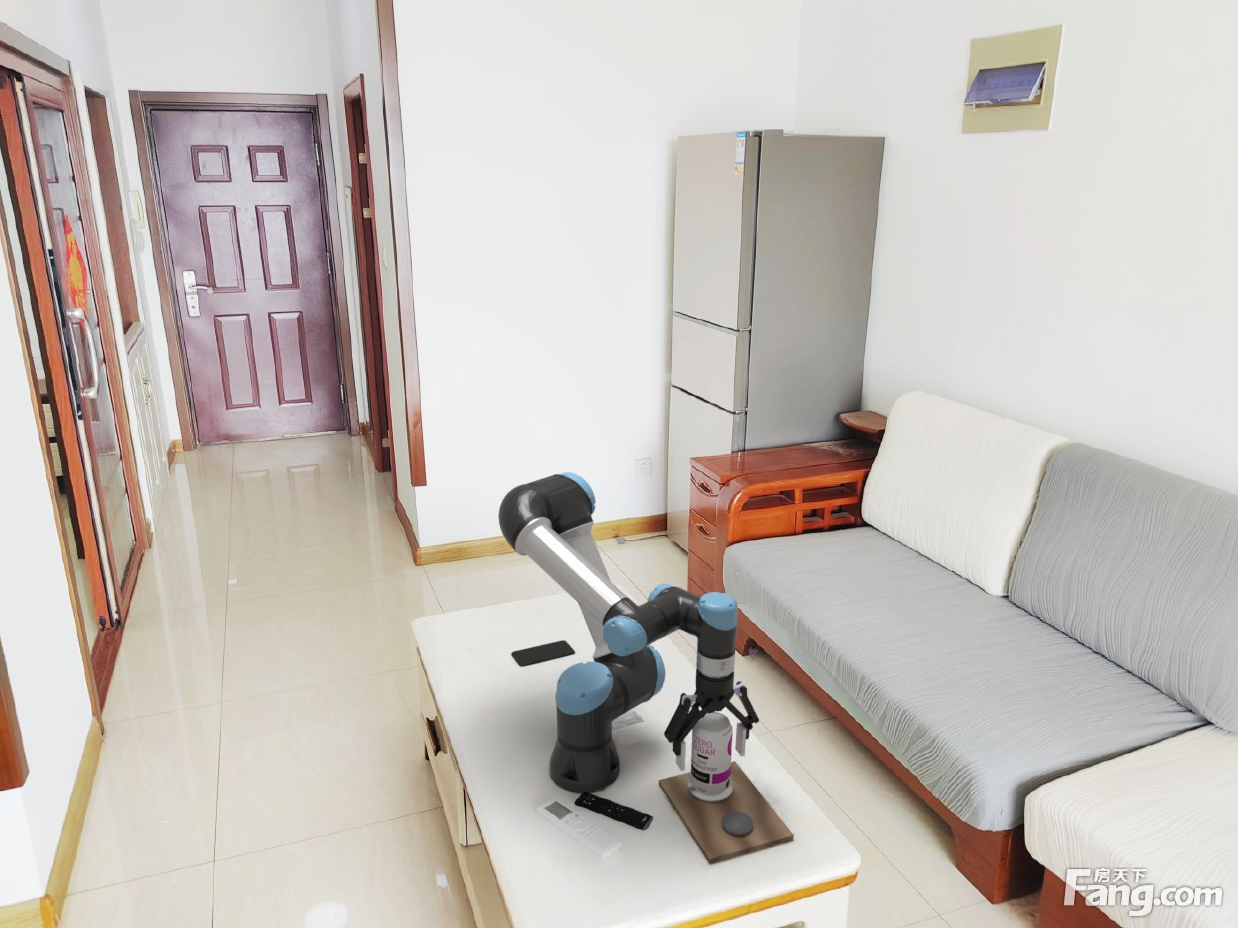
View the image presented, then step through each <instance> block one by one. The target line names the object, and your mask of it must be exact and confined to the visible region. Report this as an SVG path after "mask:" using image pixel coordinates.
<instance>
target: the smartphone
mask: <svg viewBox="0 0 1238 928" xmlns="http://www.w3.org/2000/svg"><path fill="white" fill-rule="evenodd" d="M575 654H576V650H575V649H574V648H573V647H572V646H571V645H570V644H569V642H567V640H561V639H560V640H557V641H553V642H549V643H545V644H540V645H535V646H532V647H527V648H522V649H518V650H514V651H512V652H511V657H512V658H513V659H514V661H515V662H516V664H517V665H518V666H519V667H521V668H522V667H529V666H533V665H537V664H541V663H544V662H545V663H546V662H549V661H552V660H557V659H561V658H565V657H569V656H574V655H575Z"/></svg>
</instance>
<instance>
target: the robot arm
mask: <svg viewBox="0 0 1238 928" xmlns="http://www.w3.org/2000/svg"><path fill="white" fill-rule="evenodd" d="M595 504H596V496H595V493H594V491H593V488H592V487H591V485H590V484H589V482H588V481H586V480H585V478H584V477H582V476H580V475H577V473H575V472H570V471H569V472H562V473H554V474H552V475H550V476H547V477H543V478H539V479H535V480H533V481H531V482H527V483H522V484H520V485H519V484H518V485H517V486H515V487H514V488H512V489H510V490H509V491H508V492H507V493H506V494H505V496H504V497H503V499H502V500H501V503H500V506H499V509H498V525H499V528H500V531H501V534H502V536H503V538H504V540H505V541H506V542H507V543H508V545H509V546H510V547H511V548H512V549H513V550H514V551H515V552H516V553H518V555H520V556H522V557H525V556H526V557H527V556H528V557H529V558H530V559H531V560H532V562H534V563H535V564H536V565H537V566H539V568H540V569H542V570H543V572H545V573H546V574H547V576H549V577H550V578H551V579H552V580H553V581H554V582H555V583H556V584H557V585H558V586H560V587H561V588H562V589H563V590H564V591H565V592H566V593H567V594H569V596H570V597H572V599H574V601H575V602H577V604H578V606H579V608H580V610H581V614H582V615H583V618H584V622H585V624H586V626H587V628H588V629H587V630H588V631H589V633H590V636H591V639H592V640H593V643H594V645H595V649H594V652H593V654H592V659H593V661H586V662H585V663H584V662H578V663H575V664H572V665H571V666H569V667H567V668H566V669H565V670H564V671H562V673H561V674H560V675H559V677H558V680H557V682H556V693H555V704H556V725H557V726H556V741H555V744H554V747H553V750H552V752H551V756H550V760H549V774H550V778H551V779H552V781H553V782H554V783H555V784H556V785H557V786H559V787H561V788H562V789H564V790H566V791H570V792H575V793H584V792H586V793H593V792H597V791H601V790H603V789H606V788H608V787H610V786H611V785H612V784H614V782H616V781H617V779H618V777H619V776H620V773H621V759H620V756H619V753H618V750H617V747H616V744H615V742H614V740H613V732H612V731H613V722H614V721H615V720H616V719H617V718H620V717H621V716H623V715H625V714H626V713H628V712H629V711H631V710H633V709H635V708H636V707H639V706H640V705H641V704H644V703H648V701H650V700H651V699H652V698H653V697H654V696H656V695H657V694H658V693H660V692H661V690H662V689H663V687H664V683H665V680H666V668H665V667H666V666H665V663H664V659H663V657H662V655H661V653H660V651H658V650H657V649H655V648H654V647H655V646H653V645H651V644H652V643H654V642H657V641H658V640H661V639H663V638H665V637H667V636H669V635H671V634H673V633H675V632H676V631H678V630H680V631H682V632H685V633H687V634H688V635H691V636H694V637H696V639H697V640H696V641H697V642H696V645H697V647H696V648H697V649H696V663H695V666H696V670H695V691H694V693H693V694H686V693H685V692H683V693H681V694H680V697H679V703H678V705H677V706H676V709H675V711H674V712H673V715H672V717H671V719H670V720H669V722H668V725H667V726H666V727H665V730H664V732H663V735H664V737H665V738H666V739H667V741H668V743H669V744H670V743H671V744H672V752H673V754H674V755H675V764H676V765H677V767H678V769H679V770H680V771H681V772H684V771H685V770H686V751H687V749H686V748H687V746H686V745H687V742H686V741H685V739H686V738H687V736H688V735H689V734H690V732H692V729H693V727H694V726H695V725H696V723H697V722H698V721H699V720H700V718H703V717H704V716H705V715H706V714H707V713H708V714H709V713H713V712H723V709H725V708H726V709H727V710H728V711H729V712H730V713H731V714H732V715H733V716H734V717H736V719H737V720H738V721H737V722H736V730H735V731H736V732H735V733H736V734H735V746H734V747H735V748H734V749H735V750H736V752H737V753H738V754H739V755H740V757H745V754H746V744H747V743H746V740H749V738H750V731H751V730H752V729H753V728H754V725H753V724H758V723H759V722H760V718H759V717H758V714H757V713H756V710H755V709H754V706H753V703H752V702H751V701H750V699H749V697H748V688H747V687H746V686H745V684H744V683H742V681H737V682H736V684H735V685H734V681H735V680H734V679H735V663H736V662H735V660H736V647H737V646H736V641H737V630H738V629H737V628H738V624H739V617H738V616H739V615H738V603H737V601H736V599H735V598H734V597H733V596H732V595H731V594H728V593H726V592H725V593H724V592H718V591H710V592H706V593H704V594H703V595H701V596H699V595H696V594H695V593H692V592H690V591H687V590H685V589H683V588H682V587H680V586H676V585H672V584H670V583H661V584H658V585H656V586H655V587H654V590H652V591H651V592H650V593H649V595H648V598H647V602H645V603H643V604H640V605H637V603H635V602H634V601H633V600H632V599H631V598H629V597H628V596H627V595H626V594H625V593H624V592H623V591H621V590H620V589H619V587H617V586H616V585H615V584H614V583H613V582H612V581H611V578H610V576H609V574H608V571H607V568H606V566H605V564H604V561H603V559H602V556H601V554H600V552H599V549H598V547H597V545H596V542H595V539H594V536H593V534H592V528H593V526H594V524H595V522H594V520H593V516H592V515H593V514H594V512H595V510H596V505H595ZM734 695H736V696H738V698H739V700H740V702H741V704H742V706H743V709H744V710H745V712H746V714H747V715H745V714H743V713H742V712H741V711H740V710H739V709H738V708H737V707H736V706H735V705H734V703H732V702H731V699H733V697H734Z"/></svg>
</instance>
